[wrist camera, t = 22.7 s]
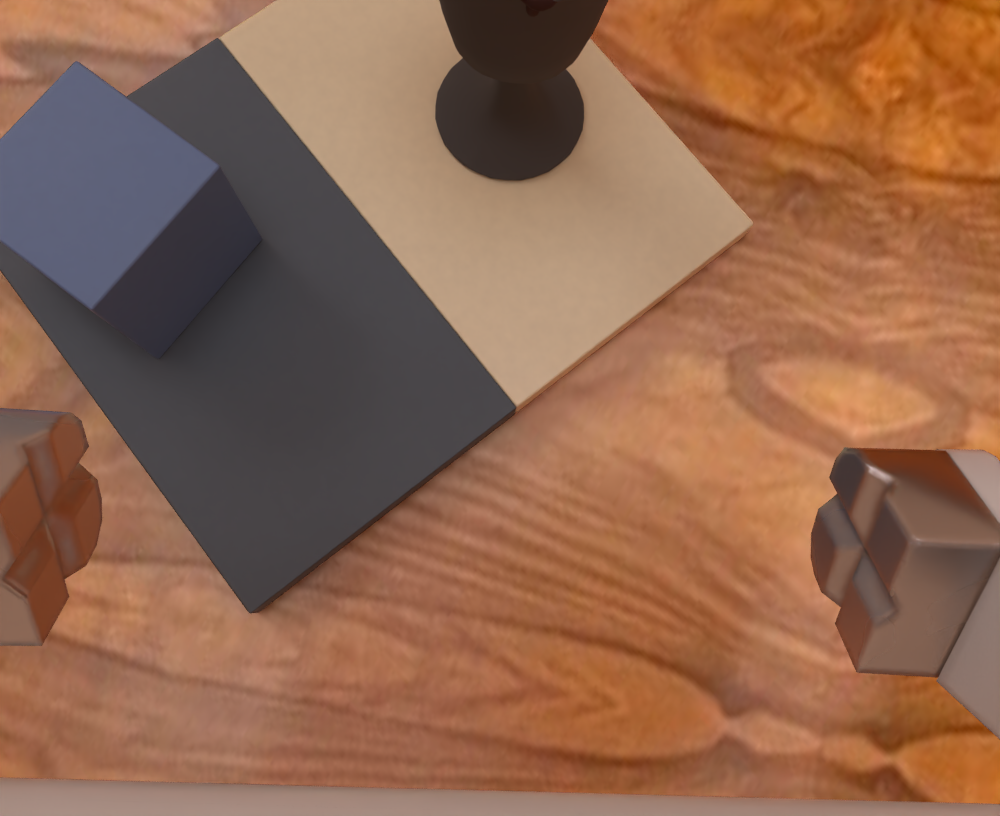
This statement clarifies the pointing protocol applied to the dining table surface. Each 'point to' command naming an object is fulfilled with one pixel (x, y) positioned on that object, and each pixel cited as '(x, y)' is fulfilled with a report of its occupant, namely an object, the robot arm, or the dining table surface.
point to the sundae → (514, 83)
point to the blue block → (119, 209)
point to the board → (375, 280)
